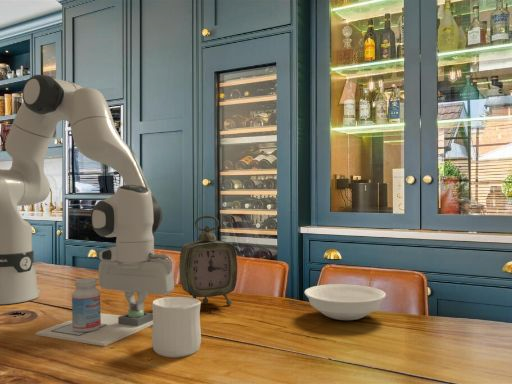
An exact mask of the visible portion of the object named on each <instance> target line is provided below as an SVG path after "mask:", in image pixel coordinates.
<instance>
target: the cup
mask: <svg viewBox="0 0 512 384" xmlns="http://www.w3.org/2000/svg"><path fill="white" fill-rule="evenodd" d="M201 304H202V301H200V300H199V299H197V298H196V299H195V298H193V297H190V296H189V297H187V296H166V297H161V298H160V297H159V298H156V299H154V300H153V301H152V303H151V307H152V313H153V325H152V328H151V329H152V330H151V346H152V349H153V351H154V352H155V354H156V355H157V354H158V355H160V356H162V357H165V358H166V357H167V358H183V357H187V356H191V355H193V354H195V353H197V352H198V351H199V349H200V347H201V343H202V334H201V333H202V330H201V320H200V319H201V318H200V311H201Z"/></svg>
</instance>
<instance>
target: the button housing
mask: <svg viewBox="0 0 512 384" xmlns="http://www.w3.org/2000/svg"><path fill="white" fill-rule="evenodd" d="M152 320H153V312H146V311H144V316H142V317H140V318H130V317H128V313H125V314H123V315H120V317H118V324H123V325H131V326H141V325H143V324H145V323H147V322H150V321H152Z"/></svg>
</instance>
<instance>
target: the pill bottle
mask: <svg viewBox="0 0 512 384" xmlns="http://www.w3.org/2000/svg"><path fill="white" fill-rule="evenodd" d="M97 281H98V280H97V278H95V277H83V278H77V279H75V282H74V283H75V284H74V286H75V288H76V289H75V290H74V291H73V292H72V294H71V312H72V313H71V317H72V319H71V320H72V328H73V330H74V331H76V332H89V331H93V330H96V329H98V328H100V326H101V313H102V311H101V292H100V290H99V289H98V288H96V286H97V284H98V282H97Z"/></svg>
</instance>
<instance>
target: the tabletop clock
mask: <svg viewBox="0 0 512 384" xmlns="http://www.w3.org/2000/svg"><path fill="white" fill-rule="evenodd" d="M203 219H212V220H214V221H216V225H215V226H214V227H210V226H209V225H206V226H204V228H203V227H199V226H198V224H197V223H198V222H199V221H200V220H203ZM219 226H220V222H219V220H218V218H217V217H215V216H213V215H203V216H199V217H198V218H197V219H196V220H195V222H194V227H195V228H196V229H197V230H198V231H203V232H201V233H200V234H199V235H198V238H197V241H190V242H187V243H185V244H183V245H182V247H181V249H180V253H179V264H178V270H179V280H180V286H181V287H182V290H183V291H184V292H186V293H187V294H189V295H190V296H192V298H195V299H197V298H203V299H202V304H204V305H206V304H208V303H209V299H208V298H209V297H210V298H212V297H218V296H222V297H224V298H225V300H226V301H225V302H226V305H228V306H231V305H232V304H233V301H232V299H230V298H229V297H228V294H230V293H232V292H234V290H235V289H236V288H235V287H236V285H237V280H238V258H237V252H236V248H235V245H233V244H230V243H227V242H223V241H220V240H217V236H216V234H214V233H213V232H211V231H214V230H216V229H217V228H218V227H219Z"/></svg>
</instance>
